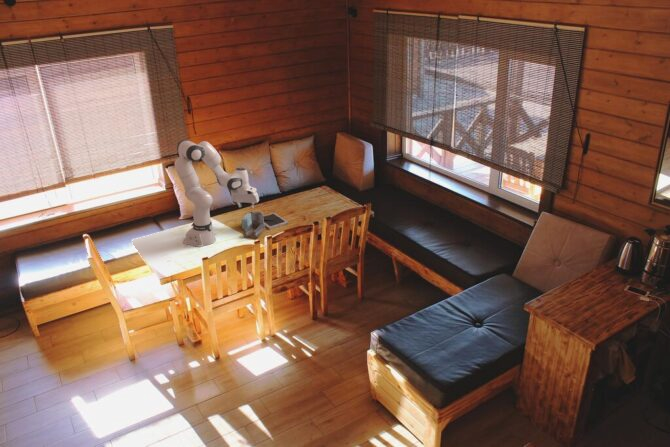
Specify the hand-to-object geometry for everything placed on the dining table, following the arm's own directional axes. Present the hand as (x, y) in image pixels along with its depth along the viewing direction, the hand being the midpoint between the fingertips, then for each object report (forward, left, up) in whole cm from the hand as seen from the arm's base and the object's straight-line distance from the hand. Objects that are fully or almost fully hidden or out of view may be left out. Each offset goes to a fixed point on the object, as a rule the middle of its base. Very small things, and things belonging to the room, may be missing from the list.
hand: (246, 207), depth 412 cm
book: (0, 0, -15) cm, 15 cm away
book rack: (+9, -10, -15) cm, 20 cm away
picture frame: (+14, +11, -16) cm, 24 cm away
